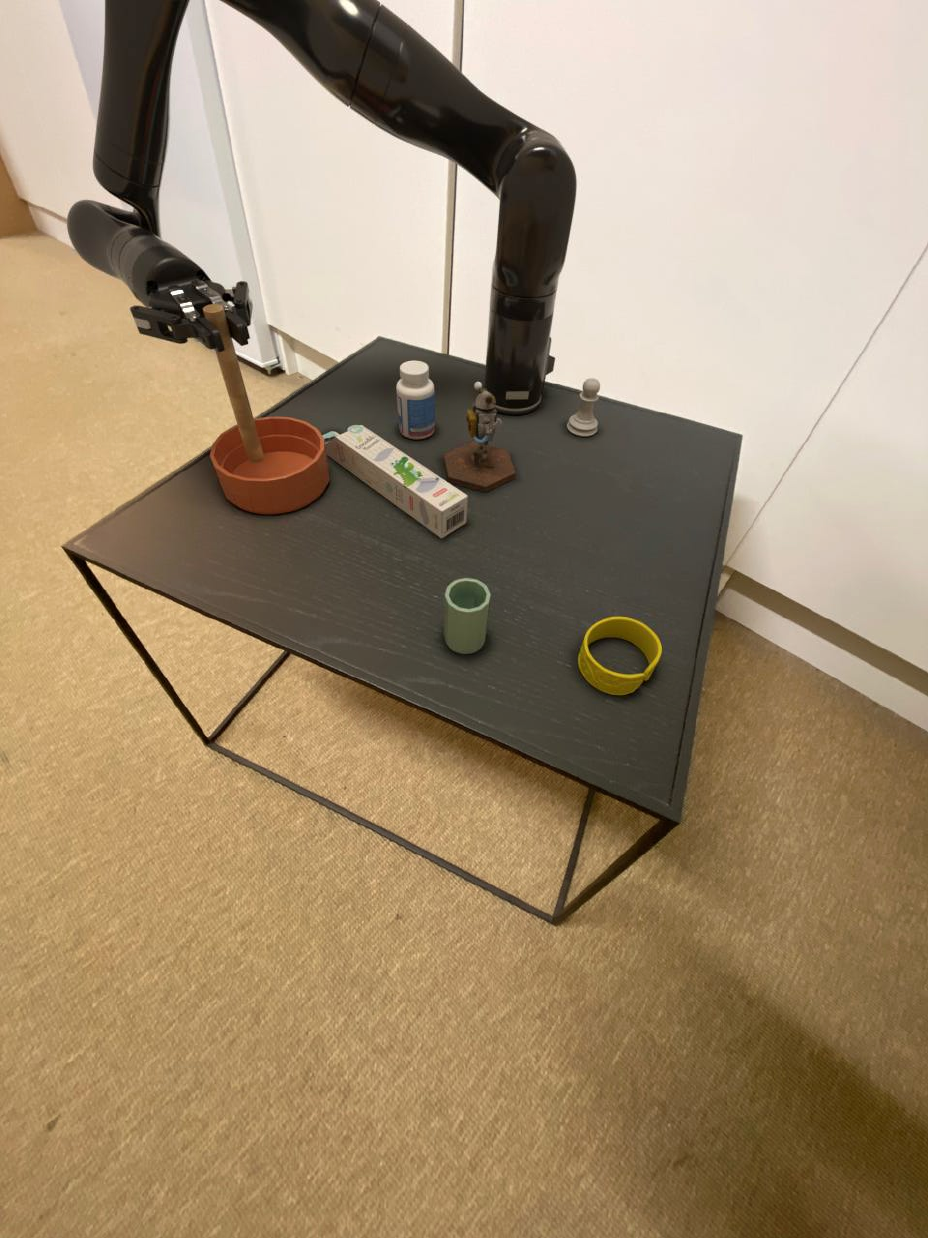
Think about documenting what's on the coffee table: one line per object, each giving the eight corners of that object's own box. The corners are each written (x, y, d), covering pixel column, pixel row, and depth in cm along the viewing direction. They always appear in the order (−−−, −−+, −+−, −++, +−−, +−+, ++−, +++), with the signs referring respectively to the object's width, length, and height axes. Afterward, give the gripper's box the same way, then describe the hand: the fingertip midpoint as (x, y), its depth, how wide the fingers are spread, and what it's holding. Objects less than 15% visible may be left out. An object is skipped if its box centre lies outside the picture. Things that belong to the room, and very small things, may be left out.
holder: (462, 615, 63) (465, 571, 57) (493, 636, 61) (499, 593, 56) (436, 638, 61) (436, 595, 55) (467, 661, 59) (470, 618, 54)
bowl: (286, 439, 83) (277, 404, 78) (352, 480, 77) (347, 445, 73) (201, 482, 76) (187, 447, 71) (267, 531, 70) (256, 496, 66)
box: (441, 538, 71) (309, 442, 82) (466, 523, 73) (333, 430, 85) (442, 511, 67) (303, 414, 79) (468, 495, 69) (329, 403, 81)
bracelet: (563, 661, 59) (568, 642, 57) (611, 623, 63) (618, 604, 60) (617, 707, 56) (626, 690, 54) (665, 665, 60) (675, 646, 57)
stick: (263, 452, 72) (222, 302, 58) (265, 461, 71) (223, 310, 57) (247, 454, 72) (202, 304, 58) (248, 464, 71) (203, 313, 57)
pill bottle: (441, 428, 86) (442, 365, 79) (421, 444, 83) (419, 381, 76) (412, 416, 88) (410, 354, 80) (391, 432, 85) (387, 369, 77)
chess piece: (602, 434, 87) (615, 384, 80) (575, 439, 85) (586, 389, 79) (587, 418, 89) (598, 368, 83) (561, 423, 88) (570, 373, 82)
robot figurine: (519, 491, 77) (530, 411, 68) (451, 496, 76) (453, 414, 67) (503, 444, 84) (511, 365, 75) (441, 448, 83) (441, 368, 73)
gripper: (88, 257, 60) (149, 317, 52) (213, 233, 66) (285, 284, 58) (119, 330, 66) (177, 394, 58) (231, 302, 72) (299, 356, 63)
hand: (231, 338), depth 58 cm, fingers closed on stick, 2 cm apart
